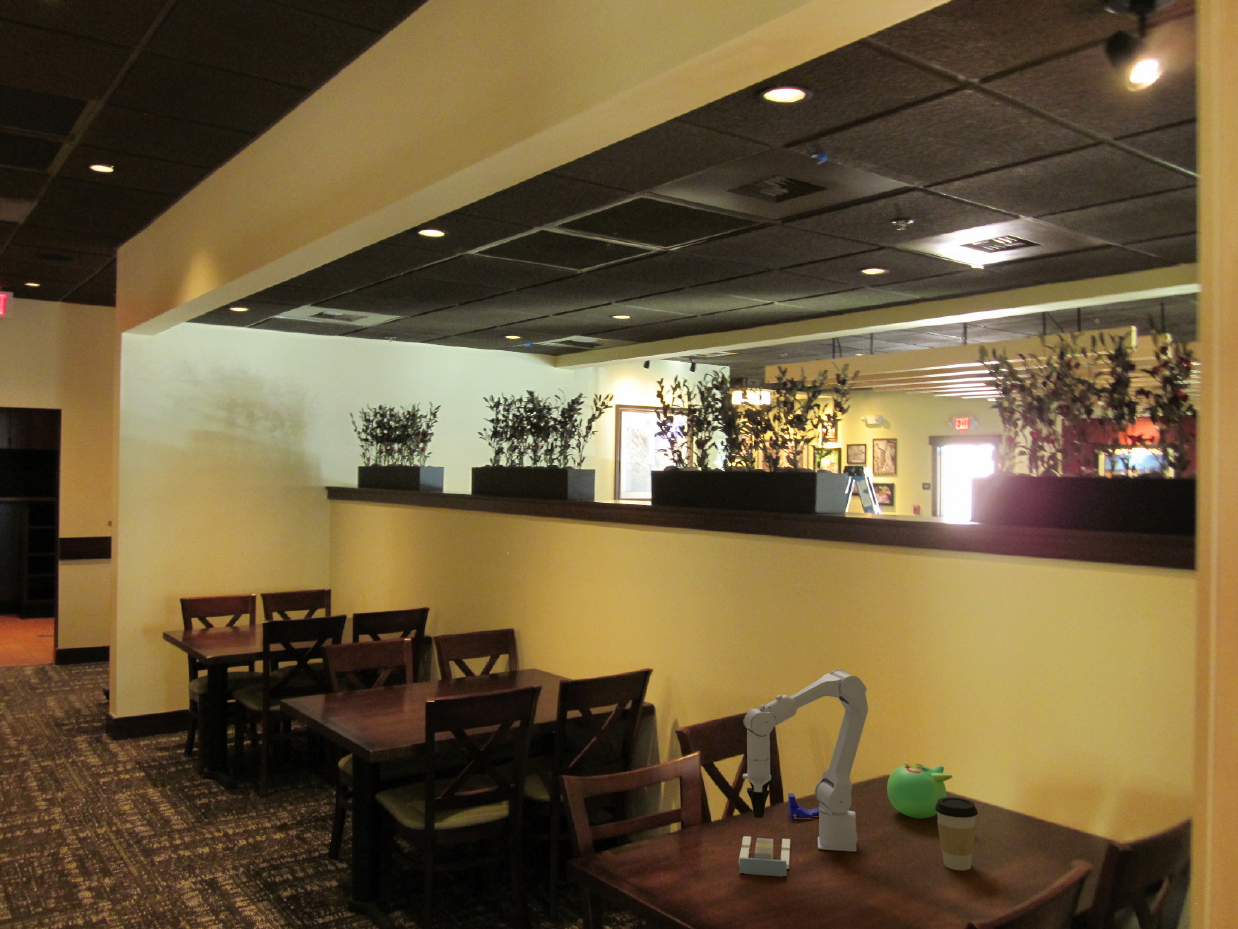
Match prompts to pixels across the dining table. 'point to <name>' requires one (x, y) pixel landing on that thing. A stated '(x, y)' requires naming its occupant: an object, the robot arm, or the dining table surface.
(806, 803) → the dining table surface
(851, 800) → the robot arm
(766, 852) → the banded cream box
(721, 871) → the dining table surface
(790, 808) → the navy blue l-shaped piece
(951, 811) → the coffee cup
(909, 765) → the toy bird
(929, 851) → the dining table surface
